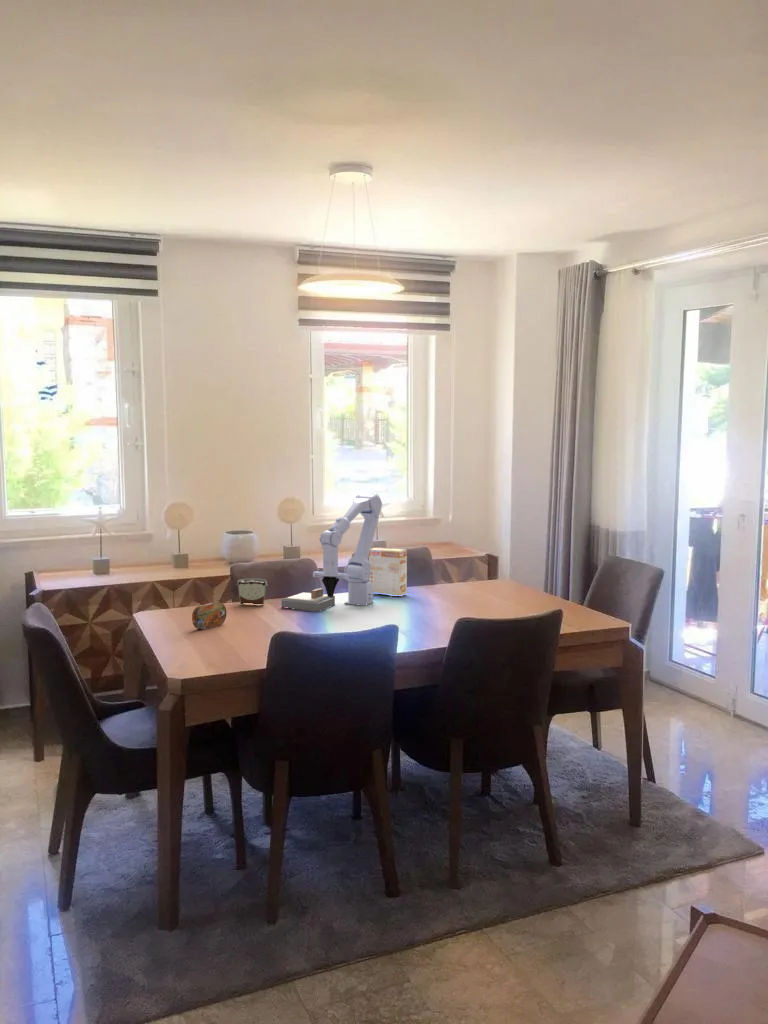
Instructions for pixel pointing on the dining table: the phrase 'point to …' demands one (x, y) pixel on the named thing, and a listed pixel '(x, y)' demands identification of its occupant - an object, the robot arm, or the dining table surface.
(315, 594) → the cover
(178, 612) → the dining table surface
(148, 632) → the dining table surface
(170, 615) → the dining table surface
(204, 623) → the tin
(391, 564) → the coffeecake box
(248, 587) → the food container
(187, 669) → the dining table surface
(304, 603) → the box
